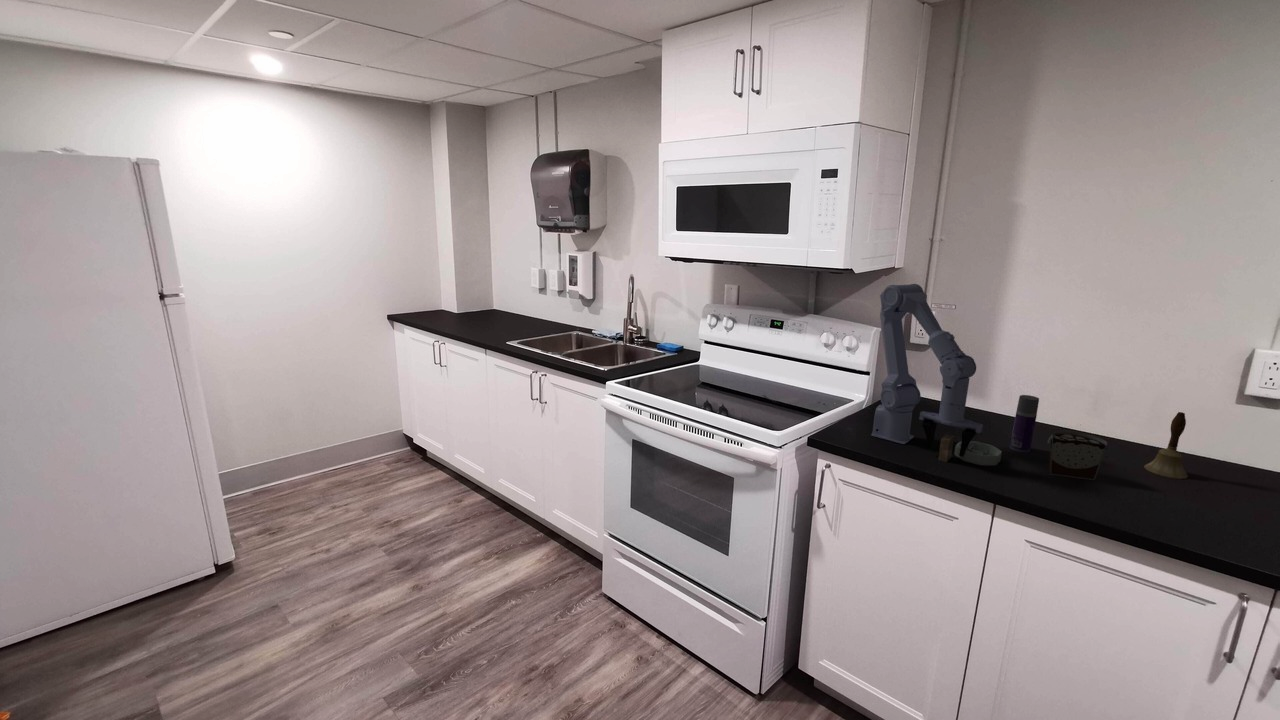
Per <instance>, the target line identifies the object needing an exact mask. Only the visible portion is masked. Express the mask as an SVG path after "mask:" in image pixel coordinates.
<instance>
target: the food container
mask: <svg viewBox="0 0 1280 720" xmlns="http://www.w3.org/2000/svg"><path fill="white" fill-rule="evenodd" d="M1047 444H1049V445H1050V450H1049V451H1050V452H1049V465H1048V474H1049V475H1052V476H1059V477H1068V478H1075V479H1084V480H1091V481H1095V480H1096V478H1097V474H1098V472H1099V469H1100V467H1101V463H1102V461H1103V459H1104V455H1105V452H1106V451H1107V452H1108V451H1109V450H1110V449H1109V444H1108V441H1107V440H1104V439H1102V438H1101V437H1098V436H1095V435H1091V434H1087V433H1082V432H1078V431H1069V430H1066V431H1065V430H1061V431H1060V430H1059V431H1054V432H1052V433H1051V434H1050V436H1049V438H1048V439H1047Z"/></svg>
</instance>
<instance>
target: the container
mask: <svg viewBox="0 0 1280 720" xmlns="http://www.w3.org/2000/svg"><path fill="white" fill-rule="evenodd" d="M1018 397H1019V398H1018V401H1017V406H1016V412H1015V417H1014V423H1013V429H1012V433H1011V440H1010V445H1009V448H1010V449H1011V450H1012V451H1016V452H1018V453H1029V452H1030V451H1031V447H1032V442H1033V437H1034V431H1035V426H1036V423H1037V422H1036V421H1037V416H1038V410H1039V402H1040V398H1039V397H1038V396H1034V395H1030V394H1021V395H1019V396H1018Z"/></svg>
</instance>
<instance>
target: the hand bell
mask: <svg viewBox="0 0 1280 720" xmlns="http://www.w3.org/2000/svg"><path fill="white" fill-rule="evenodd" d="M1186 425H1187V420H1186V413H1185V412H1183V411H1182V412H1180V411H1178V412H1177V413H1176V415H1175V416H1174V417H1173V419H1172V420H1171V424H1170V438H1169V441H1168V445H1167V447H1166V448H1161V449H1159V450H1158V452H1157V454H1156V456H1155V458H1154V459H1153V460H1151V462H1149V463H1146V464H1145V465H1144V469H1145V470H1147V471H1148V472H1149V473H1151V474H1154V475H1157V476H1161V477H1162V478H1164V477H1165V478H1169V479H1174V480H1185V479H1188V477H1189V476H1188V473H1187V472H1186V471H1185V470H1184V467H1183V457H1184V456H1183V454H1182V453H1181V452H1179V451H1178V445H1179V440H1180V437H1181V435H1182V434H1183V433H1184V430H1185V428H1186Z"/></svg>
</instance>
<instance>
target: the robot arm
mask: <svg viewBox="0 0 1280 720" xmlns="http://www.w3.org/2000/svg"><path fill="white" fill-rule="evenodd" d="M879 298H880V305H881V307H880V312H879V313H880V314H879V318H880V325H881V333H882V343H883V348H884V349H883V350H884V357H885V365H886V371H887V376H886V377H885V379H884V380H883V381H882V382H881V391H880V396H879V397H880V402H881V404H879V405H878V406H877V407H876V408H875V412H874V419H873V426H872V433H871V436H872V437H875V438H879V439H881V440H882V439H883V440H886V441H889V442H895V443H898V444H900V445H901V444H902V445H906V444H907V443H908V442H909V441H911V440H912V439H913V438H914V437H915V435H914V434H910V432H911V426H912V417H913V410H914V409H915V406H917V405H918V404H919V403H920V400H921V398H922V397H921V396H922V395H921V391H920V389H919V387H918V385H917V381H916V379H915V378H914V377H913V376H912V375H911V374H910V373H909V366H908V364H909V363H908V359H907V358H908V357H907V350H906V344H905V336H904V335H905V334H904V328H903V319H904V317H905V316H906V315H907V314H911V315H912V316H913V317H914V318H915V320H916V321H917V322H918V324H919V325H920V326H921V328H923V330H924V332H925V333H926V334H927V335H928V341H927V344H928V346H929V347H930V349H931V350H932V352H933V353H934V355H935V357H936V358H937V360H938V362H939V363H940V365H939V372H940V374H941V376H942V377H941V378H942V382H941V383H942V389H941V397H940V404H939V412H938V413H936V412H930V411H923V410H922V411H920V412H919V420H920V421H923V422H922V423H921V425H922V429H923V430H924V431H923V432H924V433H925V435H926V441H927V448H928V449H932V448H933V447H934V444H935V434H936V429H937V426H938V424H942V425H945V426H949V427H955V428H959V429H963V431H962V432H961V441H962V443H961V449H960V454H959V456H961V457H963V456H964V455H965V451H966V449H967V447H968V445H969V443H970V441H973V440H972V439H973V438H974V437H975V436H976V434H981V433H982V431H983V427H984V426H983V425H984V423H983V424H982V423H979V422H975V421H973V420H970V419H966V418H965V411H966V405H967V404H966V403H967V397H968V392H969V391H968V390H969V384H970V380H971V379H970V378H972V377H973V376H974V375H975V374H976V372H977V364H976V362H975V359H974V357H972V356H970V355H967V354H966V353H965V352H964V351H963V350H961V347H960V345H958V343H957V341H956V340H955V336H954V334H951V333H950V332H949V331H945V330H943V329H942V328H941V325H940V324H939V322H938V320H937V318H936V316H935V314H934V313H933V311H932V308H931V307H930V306H929V303H928V302H927V300H928V295H927V294H926V293H925V291H924V290H923V287H922V286H921V285H919V284H917V283H911V284H889V285H888V286H886V287H885V288H884V290H883V291H882V292H881V294H880V295H879Z"/></svg>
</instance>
